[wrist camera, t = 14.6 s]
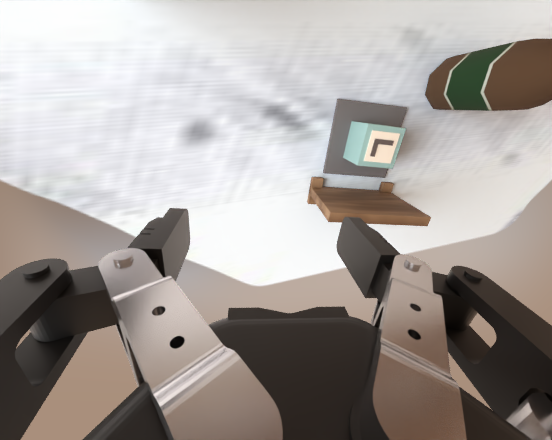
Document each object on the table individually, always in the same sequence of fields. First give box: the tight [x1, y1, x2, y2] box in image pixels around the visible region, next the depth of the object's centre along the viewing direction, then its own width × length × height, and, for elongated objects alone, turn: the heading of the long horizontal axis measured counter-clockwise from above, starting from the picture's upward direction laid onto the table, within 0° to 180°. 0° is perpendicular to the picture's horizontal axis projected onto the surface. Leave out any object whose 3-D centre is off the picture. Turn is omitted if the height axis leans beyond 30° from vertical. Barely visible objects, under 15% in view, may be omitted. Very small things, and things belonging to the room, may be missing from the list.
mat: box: [323, 99, 407, 178], centre depth 40 cm, size 12×12×1 cm
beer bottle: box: [425, 39, 552, 111], centre depth 27 cm, size 8×8×24 cm
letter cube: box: [343, 121, 406, 169], centre depth 37 cm, size 6×6×6 cm
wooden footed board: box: [307, 177, 431, 226], centre depth 39 cm, size 5×16×12 cm, turn 84°
